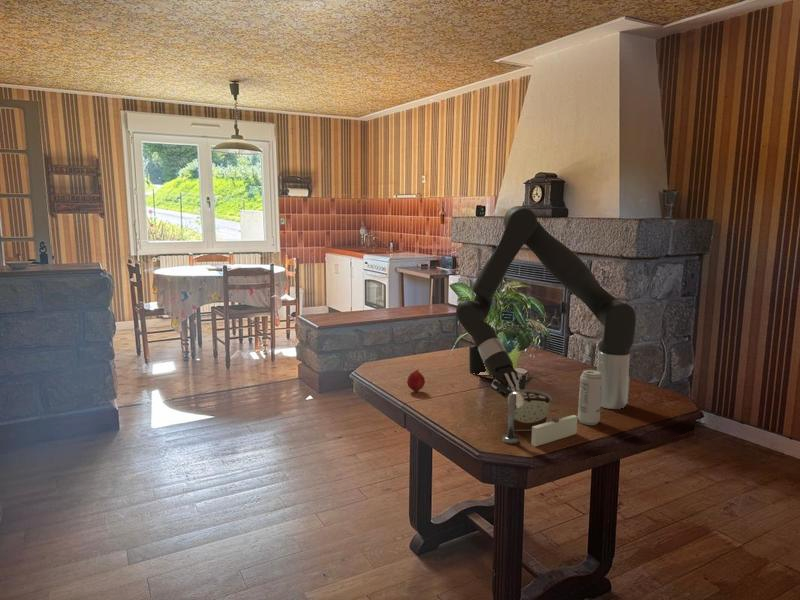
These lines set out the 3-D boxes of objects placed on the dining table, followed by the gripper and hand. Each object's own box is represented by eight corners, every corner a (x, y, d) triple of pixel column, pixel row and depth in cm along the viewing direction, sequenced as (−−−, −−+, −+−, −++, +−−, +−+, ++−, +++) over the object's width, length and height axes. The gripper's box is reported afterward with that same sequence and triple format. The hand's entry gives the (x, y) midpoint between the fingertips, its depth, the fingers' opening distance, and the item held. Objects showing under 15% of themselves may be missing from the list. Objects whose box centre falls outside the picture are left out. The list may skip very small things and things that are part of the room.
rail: (572, 432, 151) (573, 412, 151) (576, 433, 150) (577, 413, 149) (531, 444, 143) (532, 423, 142) (535, 446, 142) (536, 425, 141)
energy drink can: (601, 426, 156) (605, 375, 153) (579, 425, 156) (583, 374, 154) (596, 418, 162) (600, 369, 159) (575, 417, 162) (578, 368, 160)
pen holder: (495, 376, 202) (496, 350, 201) (470, 376, 202) (471, 349, 201) (491, 369, 212) (492, 344, 210) (467, 369, 212) (468, 343, 210)
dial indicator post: (510, 436, 148) (512, 389, 146) (522, 442, 145) (524, 394, 142) (498, 439, 146) (500, 392, 144) (510, 445, 142) (512, 396, 140)
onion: (413, 396, 180) (413, 372, 179) (403, 391, 185) (404, 368, 183) (427, 393, 183) (428, 369, 182) (418, 388, 188) (418, 365, 187)
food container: (543, 421, 158) (546, 388, 156) (550, 430, 152) (553, 396, 150) (501, 421, 158) (503, 388, 156) (506, 430, 152) (508, 396, 150)
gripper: (484, 352, 158) (512, 406, 150) (517, 347, 165) (546, 398, 157) (471, 366, 163) (498, 418, 155) (504, 360, 170) (531, 410, 162)
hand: (522, 408), depth 156 cm, fingers closed
